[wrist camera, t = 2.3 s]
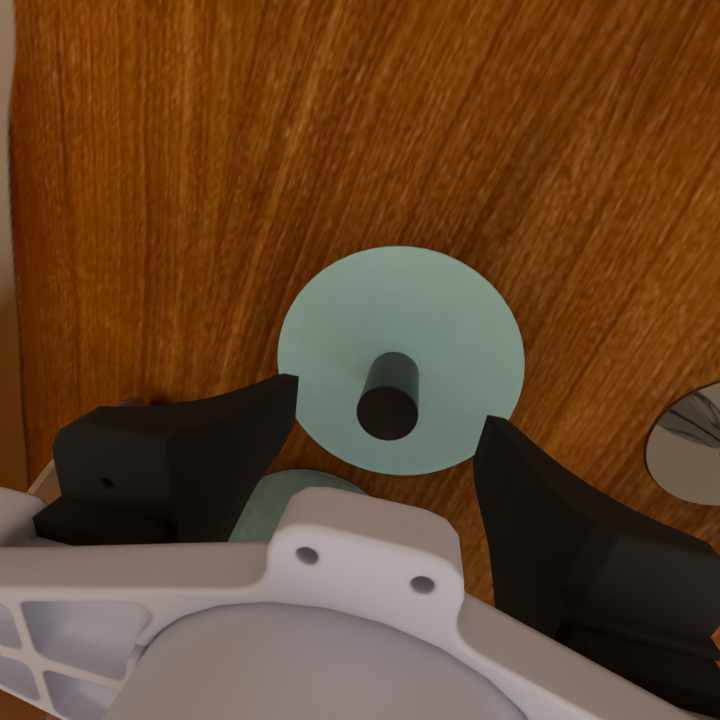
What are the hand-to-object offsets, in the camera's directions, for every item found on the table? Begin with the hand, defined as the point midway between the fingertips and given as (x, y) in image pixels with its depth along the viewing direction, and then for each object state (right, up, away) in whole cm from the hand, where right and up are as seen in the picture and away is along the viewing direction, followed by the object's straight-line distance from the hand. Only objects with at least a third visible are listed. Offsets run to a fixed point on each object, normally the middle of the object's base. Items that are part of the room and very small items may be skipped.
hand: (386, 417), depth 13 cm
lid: (+1, +2, +4) cm, 5 cm away
